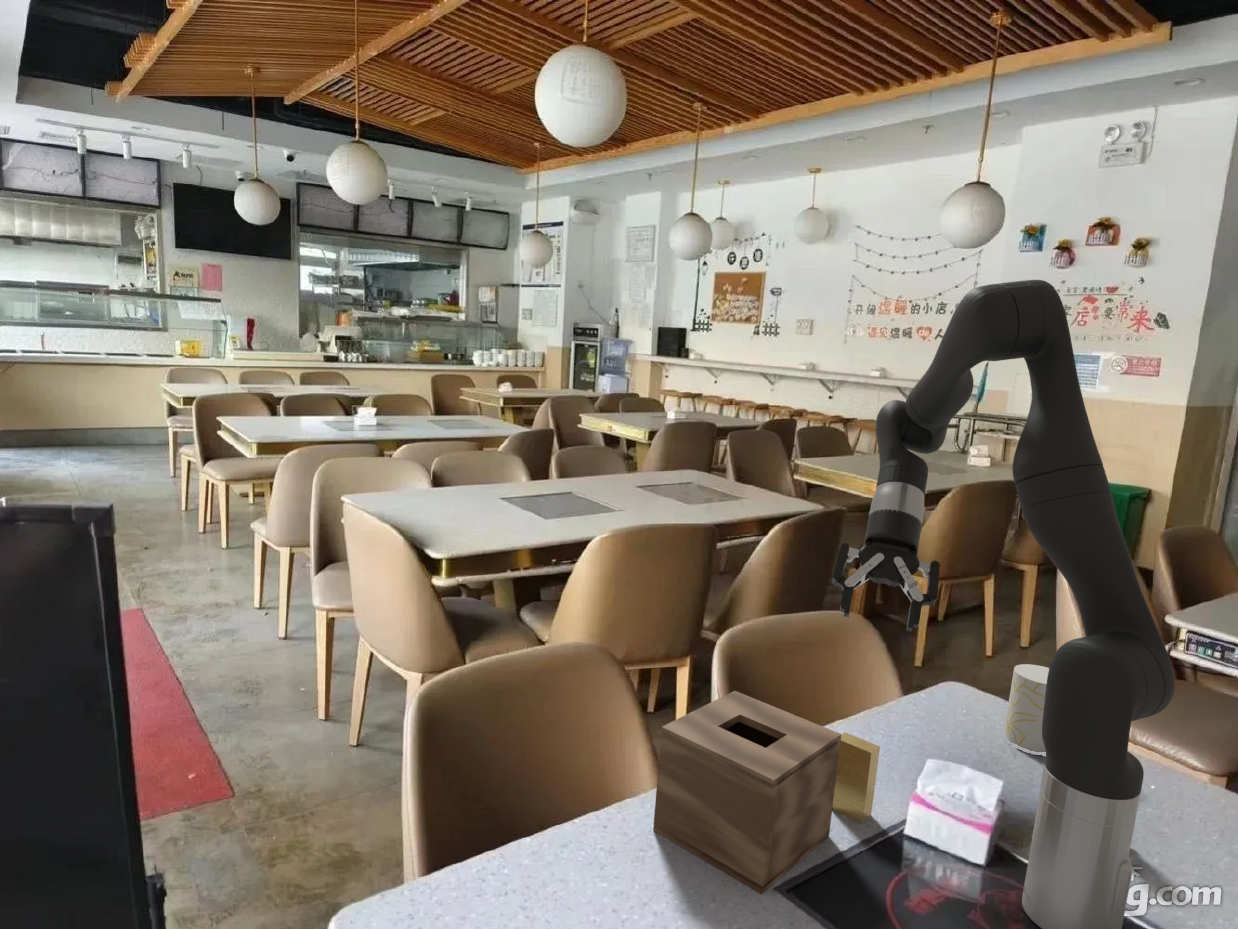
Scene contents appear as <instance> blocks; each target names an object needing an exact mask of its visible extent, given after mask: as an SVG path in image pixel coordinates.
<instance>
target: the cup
mask: <svg viewBox="0 0 1238 929" xmlns="http://www.w3.org/2000/svg"><path fill="white" fill-rule="evenodd" d="M1049 668H1050V667H1047V666H1044V665H1043V666H1042V665H1037V664H1028V663H1024V664H1023V663H1022V664H1017V665H1015V666H1014V667H1013V674H1012V679H1011V686H1010V692H1009V693H1010V694H1009V698H1008V704H1007V712H1006V719H1005V724H1004V730H1003V736H1004V735H1005V737H1006V738H1007V739H1008V740H1009V741H1010V742H1011V743H1014V744H1017V745H1018V746H1020V747H1022V748H1025V749H1028V750H1030V751H1035V752H1046V750H1045V746H1044V742H1043V738H1042V721H1043V712H1044V702H1045V693H1046V684H1047V677H1048V672H1049Z"/></svg>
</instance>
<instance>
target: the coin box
mask: <svg viewBox="0 0 1238 929" xmlns="http://www.w3.org/2000/svg"><path fill="white" fill-rule="evenodd" d="M660 731H661V732H660V742H659V743H660V745H659V758H658V768H657V778H656V780H657V782H656V791H655V805H654V817H653V827H652V829H653V831H654V832H655V833H657V834H658V835H660V836H662V837H664V838H666V839H667V840H668V841H671V842H672V843H674V844H675V845H677V846H679V847H681V848H682V849H685V851H687V852H689V853H691V854H692V855H694V856H696V857H697V858H699V859H701V860H702V861H705V862H706V863H708V864H710V865H711V866H713V867H715V868H716V869H718V870H720V872H721V871H722V872H723V873H725V874H727V875H728V876H730V877H731V878H734V879H735V880H736V881H738V882H740V883H742V884H744V885H746V886H747V887H748V888H750V889H752V890H754V891H755V892H757V893H759V894H760V895H762V894H763V893H765V892H766V891H767V890H768V889H769V888H770V887H772V886H773V885H774V884H775V883H777V882H778V881H779V880H780V879H781V878H782V877H783V876H784V875H786V874H787V873H788V872H789V871H790V870H792V869H793V868H794V867H795V866H796V865H797V864H798V863H800V862H801V861H802V860H803V859H804V858H805V857H806V856H808V855H809V854H810V853H812V852H813V851H814V850H815V849H816V848H817V847H818V846H819V845H820V844H822V843H823V842H824V841H825V840H826V839H827V838H828V837H830V830H831V822H832V815H833V813H832V812H833V809H832V807H833V799H834V791H835V782H836V774H837V766H838V758H839V750H840V741H841V735H842V733H840V732H837V731H835V730H832V729H830V728H828V727H825V726H822V725H820V724H818V723H815V722H813V721H810V720H808V719H805V718H803V717H800V716H797V715H795V714H793V713H791V712H788V711H786V710H783V709H782V708H781V709H780V708H778V707H775V706H773V705H771V704H768V703H766V702H764V701H762V700H759V699H756V698H755V697H751V696H749V695H747V694H744V693H742V692H740V691H736V690H734V691H732V692H730V693H727V694H726V695H723V696H722V697H719V698H717V699H715V700H713V701H711V702H709V703H707V704H705V705H703V706H701V707H699V708H697V709H695V710H693V711H691V712H688V713H686V714H685V715H683V716H681V717H679V718H677V719H675V720H672V721H671V722H669V723H667V724H665V725H662V726H661V730H660Z"/></svg>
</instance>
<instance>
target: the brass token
mask: <svg viewBox="0 0 1238 929" xmlns="http://www.w3.org/2000/svg"><path fill="white" fill-rule="evenodd" d="M880 749H881V746H880V745H878V744H875V743H873V742H870V741H868V740H866V739H863V738H860V737H858V736H855V735H853V734H850V733H848V732H846V731H845V732H843V733H841V741H840V750H839V758H838V766H837V774H836V782H835V791H834V799H833V807H832V810H834V811H836V812H838V813H840V814H842V815H845V817H846V816H847V817H849V818H850V819H853V820H855V821H856V822H859V823H861V824H863V823H865V822H866V821H867V820H868V819H869V818H870V817H871V816H872V813H873V812H872V811H873V804H874V803H873V802H874V797H875V796H874V795H875V789H876V788H875V787H876V781H877V774H878V766H879V757H880Z"/></svg>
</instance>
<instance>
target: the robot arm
mask: <svg viewBox="0 0 1238 929" xmlns="http://www.w3.org/2000/svg"><path fill="white" fill-rule="evenodd" d="M1067 317H1068V316H1067V314H1066V310H1065V306H1064V303H1063V301H1062V298H1061V297H1060V294H1059V293H1058V291H1057V289H1056V288H1055V287H1054V285H1052V284H1051V283H1050V282H1048V281H1046V280H1043V279H1027V280H1025V279H1024V280H1019V281H1018V280H1017V281H1011V282H1009V281H1008V282H1000V283H990V284H987V285H986V284H985V285H981V286H977V287H974V288H972V289H970V290H969V291H968V292H967V293H966V294H965V295H964V296H963V297H962V298H961V300H960V302H959V303H958V305H957V306H956V308H955V309H954V312H953V314H952V316H951V318H950V321H949V323H948V325H947V327H946V329H945V332H944V334H943V335H942V339H941V340H940V343H939V345H938V348H937V351H936V352H935V355H934V357H933V360H932V361H931V364H929V367H928V369H927V370H926V371H925V373H923V375H922V376H921V378H920V379H919V380H918V382H917V383H916V384H915V385H914V387H913V388H912V389H911V390H910V392H909V393H908V395H907V397H906V399H905V401H904V400H898V399H894V400H893V399H892V400H890V401H888V402H886V403H885V404H884V405H883V406H882V407H881V408H880V410H879V411H878V413H877V416H876V420H875V434H876V441H877V446H878V447H877V448H878V456H879V457H878V458H879V470H878V475H877V476H878V477H877V480H876V486H875V491H874V494H873V496H872V499H871V504H870V510H869V512H868V519H867V520H868V521H867V526H866V531H865V536H864V541H863V546H862V547H861V548H860V549H858V548H855V547H851V546H850V545H849V543H846V542H844V543H841V545H840V548H839V551H838V555H837V558H836V562H835V565H834V568H833V569H834V570H833V574H832V582H831V584H832V585H833V586H835V587H838V588H840V589H842V595H841V600H840V608H839V609H840V612H841V613H843V617H845V618H846V617H847V618H849V617H850V613H851V607H852V601H853V598H854V597H853V596H854V591H855V590H856V589H857V588H858V587H859V586H862V585H863V584H864V583H866V582H867V581H869V580H871V581H872V583H873V584H885V585H887V586H889V587H893V588H896V586H897V587H898V586H899V587H901V590H902V591H903V593H904V594H905V595H906V596H907V597H908V598H907V599H909V601H910V606H909V610H908V611H909V612H908V619H907V624H906V631H908V632H913V630H914V629H917V628H918V626H919V624H920V619H921V612H922V608H923V607H925V606H929V607H934V606H935V605H936V602H937V600H938V596H939V582H940V570H941V569H940V568H941V567H940V566H941V564H940V562H939V561H937V560H932V561H931V562H928V561H927V562H926V561H920V560H919V557H918V555H919V554H918V552H919V547H920V539H921V533H922V526H923V523H924V520H923V519H924V513H925V494H926V489H927V483H928V476H929V466H928V464H927V462H926V461H925V460H924V459H923V458H922V457H920V456H919V455H917V454H915V453H913V452H916V453H919V454H924V455H925V454H926V455H927V454H932V453H934V452H937V451H938V450H939V449H941V447H942V446H943V444H944V442H945V439H946V436H947V432H948V426H949V424H950V422H951V420H952V419H953V418H955V416H957V414H958V413H959V412H960V411H961V410H962V408H964V406H966V404H967V403H968V402H969V400H970V398H971V396H972V394H973V391H974V390H973V389H974V377H973V373H972V371H971V369H972V368H975V366H977V365H978V364H981V363H983V362H987V361H988V362H998V361H1009V360H1016V359H1024V361H1025V364H1026V366H1027V367H1026V368H1027V370H1028V375H1029V381H1030V387H1031V402H1030V406H1029V412H1028V414H1027V418H1026V420H1025V424H1024V426H1023V429H1022V431H1021V434H1020V437H1019V440H1018V442H1017V444H1016V449H1015V451H1014V455H1013V458H1012V459H1013V460H1012V476H1013V481H1014V485H1015V490H1016V494H1017V497H1018V500H1019V505H1020V508H1021V513H1022V515H1023V518H1024V522H1025V523H1026V525H1027V528H1028V529H1029V531H1030V533H1031V535H1032V536H1033V537H1034V539H1035V541H1036V542H1037V544H1038V545H1039V547H1040V548H1041V549H1042V551H1044V553H1045V554H1046V556H1048V558H1049V559H1050V561H1051V562H1052V563H1053V564H1054V566H1055V567H1056V568H1057V570H1058V571H1059V572H1060V574H1061V575H1062V576H1063V577H1064V579H1065V581H1066V582H1067V584H1068V585H1069V587H1070V588H1071V591H1072V593H1073V596H1074V597H1075V600H1076V603H1077V606H1078V609H1079V612H1080V616H1081V619H1082V623H1083V627H1084V632H1085V636H1083V637H1077V638H1073V639H1072V640H1069V641H1066V642H1064V643H1063V644H1062V645H1061V646H1060V647H1059V648H1058V649H1057V650H1056V651H1055V653H1054V655H1053V657H1052V659H1051V661H1050V664H1049V667H1048V668H1049V672H1048V677H1047V684H1046V693H1045V702H1044V712H1043V721H1042V738H1043V742H1044V746H1045V750H1046V757H1045V756H1044V766H1043V769H1042V770H1043V771H1042V777H1041V783H1040V789H1039V794H1038V801H1037V807H1036V812H1035V819H1034V825H1033V831H1032V837H1031V843H1030V848H1029V849H1030V850H1029V855H1028V862H1027V865H1026V866H1027V867H1026V874H1025V880H1024V883H1023V890H1022V891H1023V892H1022V898H1021V905H1022V907H1023V908H1022V909H1023V910H1024V912H1025V913H1026V915H1027V917H1028V918H1030V920H1032V922H1033V923H1034V924H1035V925H1037V926H1038V927H1039V928H1040V929H1123V924H1124V923H1123V922H1124V917H1125V913H1126V906H1127V901H1128V897H1129V892H1130V885H1131V880H1132V875H1133V868H1134V867H1133V865H1132V862H1131V859H1130V852H1131V851H1130V850H1131V844H1132V841H1133V840H1132V839H1133V834H1134V830H1135V825H1136V824H1135V823H1136V818H1137V815H1138V814H1137V812H1138V808H1139V802H1140V797H1141V792H1142V787H1143V781H1144V773H1145V772H1144V768H1143V765H1142V763H1141V761H1140V760H1139V759H1138V758H1137V757H1136V756H1135V755H1134V754H1133V753H1131V752H1129V750H1128V749H1129V741H1130V740H1129V739H1130V732H1131V726H1132V722H1134V721H1138V720H1142V719H1146V718H1149V717H1151V716H1154V715H1155V716H1156V715H1157V714H1159V713H1161V712H1163V710H1165V709H1166V708H1167V707H1168V706H1169V705H1170V703H1171V701H1172V700H1173V696H1174V694H1175V687H1176V686H1175V685H1176V681H1175V672H1174V669H1173V668H1174V667H1173V665H1172V662H1171V659H1170V656H1169V653H1168V650H1167V649H1166V645H1165V644H1164V641H1163V639H1162V636H1161V634H1160V631H1159V629H1158V627H1157V624H1156V622H1155V620H1154V618H1153V615H1152V613H1151V611H1150V608H1149V605H1148V604H1147V601H1146V598H1145V597H1144V594H1143V591H1142V589H1141V587H1140V583H1139V581H1138V579H1137V578H1138V577H1137V575H1136V571H1135V568H1134V565H1133V562H1132V558H1131V554H1130V551H1129V548H1128V545H1127V542H1126V538H1125V536H1124V533H1123V529H1122V527H1121V523H1120V521H1119V517H1118V514H1117V509H1116V506H1115V501H1114V497H1113V493H1112V491H1111V487H1110V484H1109V483H1110V482H1109V480H1108V477H1107V474H1106V470H1105V467H1104V463H1103V461H1102V458H1101V454H1100V453H1099V449H1098V446H1097V444H1096V440H1095V438H1094V437H1095V436H1094V434H1093V430H1092V427H1091V424H1090V418H1089V415H1088V413H1087V410H1086V409H1087V408H1086V406H1085V402H1084V398H1083V394H1082V389H1081V385H1080V381H1079V376H1078V370H1077V365H1076V361H1075V360H1076V359H1075V356H1074V355H1075V354H1074V347H1073V343H1072V338H1071V332H1070V328H1069V323H1068V322H1069V321H1068V318H1067ZM856 558H858V561H859V563H860V565H861V566H860V567H859V568H857V570H856V571H855V572H853V574H851V575H850V576H849V577H848V578H847V577H845V576H844V573H845V568H846V565H847V563H852V562H853V560H854V559H856ZM918 571H921V572H922V576H923V578H925V579H927V584H926V585H927V586H926V587H927V588H926V589H927V590H926V593H922V592H921V591H920V589H919V587H918V585H917V582H916V580H915V578H914V576H913V575H915V574H916V573H917V572H918Z"/></svg>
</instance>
